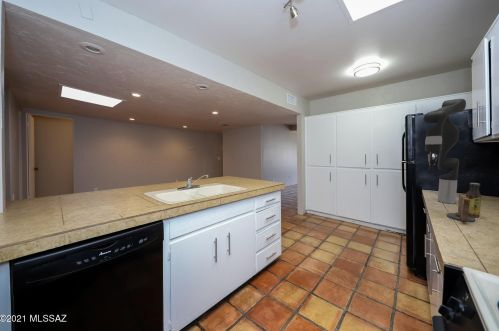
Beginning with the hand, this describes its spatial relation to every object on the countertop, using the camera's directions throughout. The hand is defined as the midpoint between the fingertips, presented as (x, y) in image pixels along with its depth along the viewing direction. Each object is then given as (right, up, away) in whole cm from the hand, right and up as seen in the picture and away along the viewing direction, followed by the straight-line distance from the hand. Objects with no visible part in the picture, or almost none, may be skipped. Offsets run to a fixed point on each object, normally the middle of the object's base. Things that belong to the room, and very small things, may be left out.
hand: (431, 170), depth 119 cm
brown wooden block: (+4, -26, -14) cm, 30 cm away
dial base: (+7, -28, -11) cm, 31 cm away
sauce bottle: (+18, -28, -7) cm, 33 cm away
